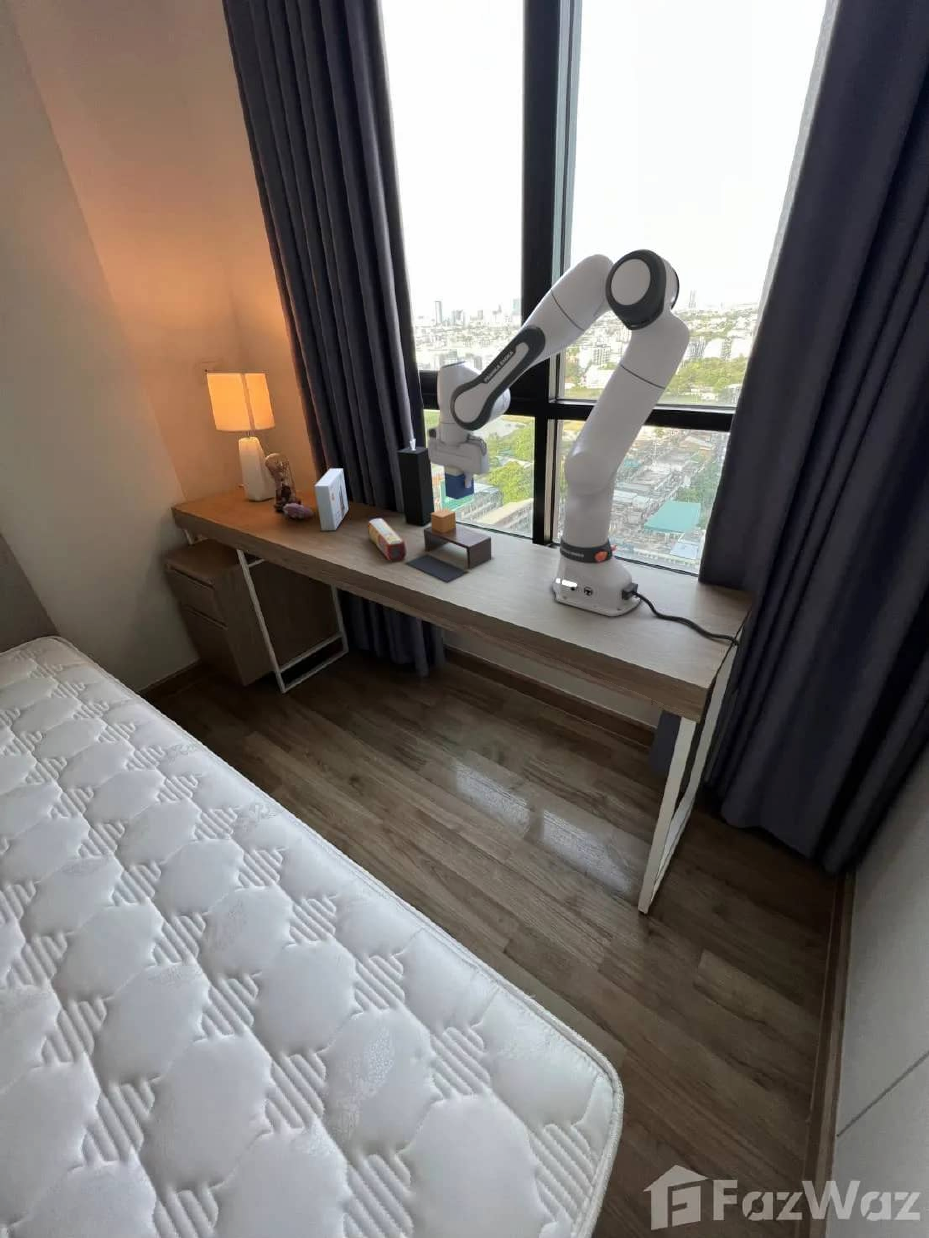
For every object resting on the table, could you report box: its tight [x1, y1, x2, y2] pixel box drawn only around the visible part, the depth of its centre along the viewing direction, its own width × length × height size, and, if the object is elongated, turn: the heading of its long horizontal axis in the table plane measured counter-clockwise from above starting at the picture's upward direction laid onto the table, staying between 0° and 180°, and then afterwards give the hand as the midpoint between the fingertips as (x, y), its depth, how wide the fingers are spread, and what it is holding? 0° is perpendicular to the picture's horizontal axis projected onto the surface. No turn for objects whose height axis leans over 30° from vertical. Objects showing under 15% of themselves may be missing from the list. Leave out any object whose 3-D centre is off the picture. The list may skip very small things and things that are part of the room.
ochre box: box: [430, 508, 457, 533], centre depth 150 cm, size 5×6×5 cm
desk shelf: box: [422, 524, 492, 570], centre depth 150 cm, size 20×9×7 cm, turn 44°
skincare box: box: [314, 468, 349, 531], centre depth 177 cm, size 21×5×16 cm, turn 179°
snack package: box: [366, 518, 407, 563], centre depth 156 cm, size 21×7×7 cm, turn 26°
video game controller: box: [282, 502, 314, 519], centre depth 183 cm, size 10×5×7 cm, turn 73°
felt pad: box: [406, 553, 469, 583], centre depth 145 cm, size 18×8×1 cm, turn 44°
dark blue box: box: [443, 466, 475, 500], centre depth 135 cm, size 5×6×8 cm
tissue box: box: [396, 438, 436, 527], centre depth 169 cm, size 8×8×28 cm
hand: (459, 485), depth 135 cm, fingers closed on dark blue box, 4 cm apart
